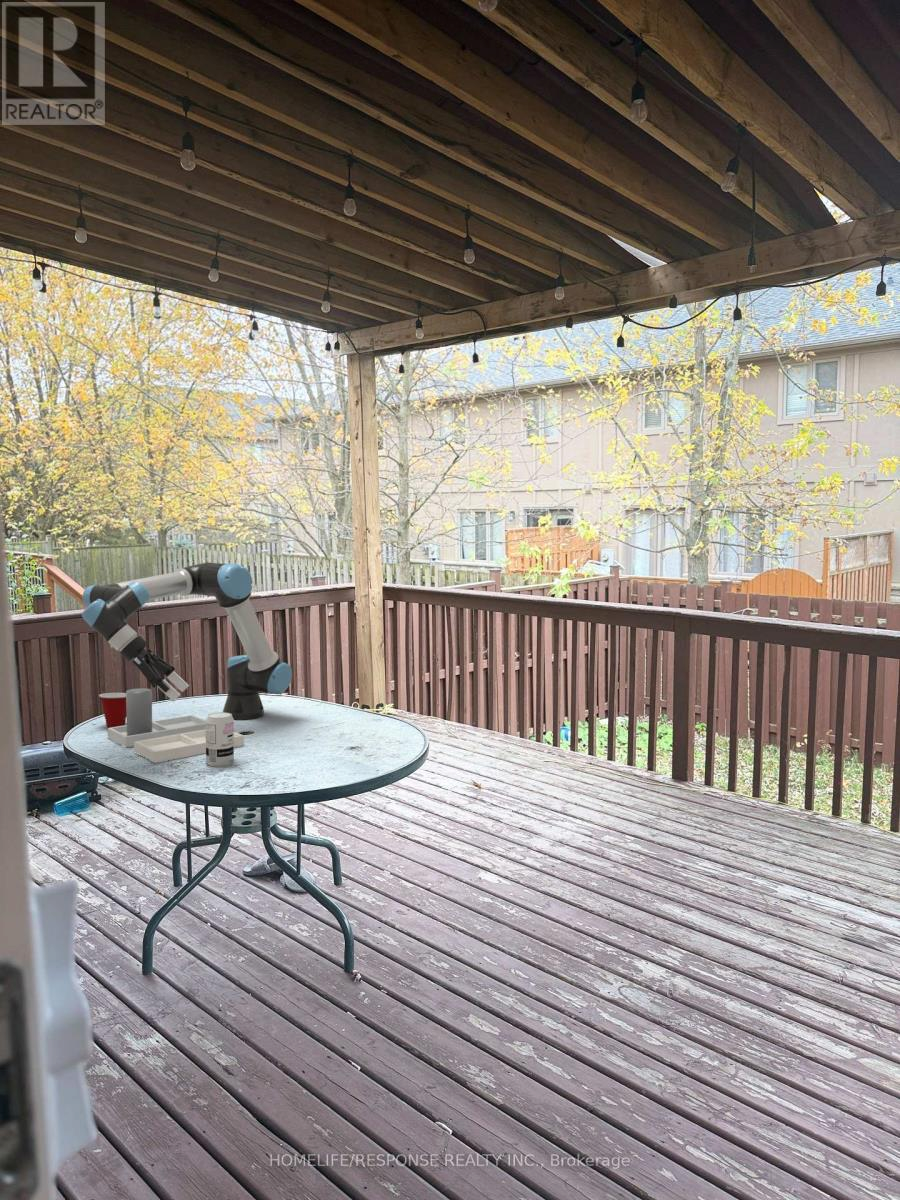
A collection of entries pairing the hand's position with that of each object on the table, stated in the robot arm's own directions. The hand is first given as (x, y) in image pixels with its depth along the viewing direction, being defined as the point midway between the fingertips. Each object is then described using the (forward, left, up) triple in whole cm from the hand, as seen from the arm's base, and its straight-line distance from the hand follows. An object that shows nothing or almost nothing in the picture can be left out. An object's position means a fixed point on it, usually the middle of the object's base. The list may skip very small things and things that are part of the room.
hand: (181, 693), depth 239 cm
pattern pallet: (-9, -36, -22) cm, 43 cm away
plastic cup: (-2, -57, -22) cm, 61 cm away
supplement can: (-9, +6, -22) cm, 25 cm away
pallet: (-9, -14, -22) cm, 27 cm away
